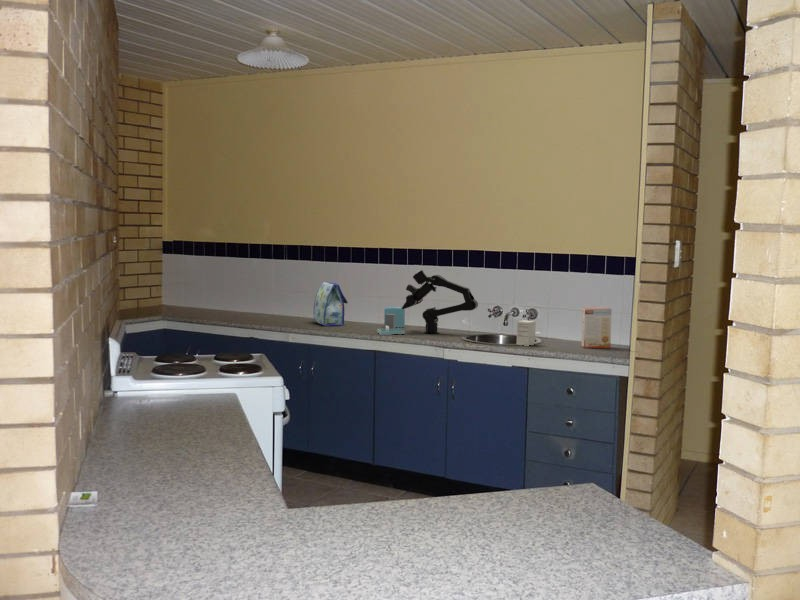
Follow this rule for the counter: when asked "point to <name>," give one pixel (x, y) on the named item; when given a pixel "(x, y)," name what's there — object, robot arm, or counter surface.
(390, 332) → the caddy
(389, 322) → the drive cartridge
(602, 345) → the cracker box
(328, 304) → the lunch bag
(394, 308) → the teal arch frame
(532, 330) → the white drawer cabinet
